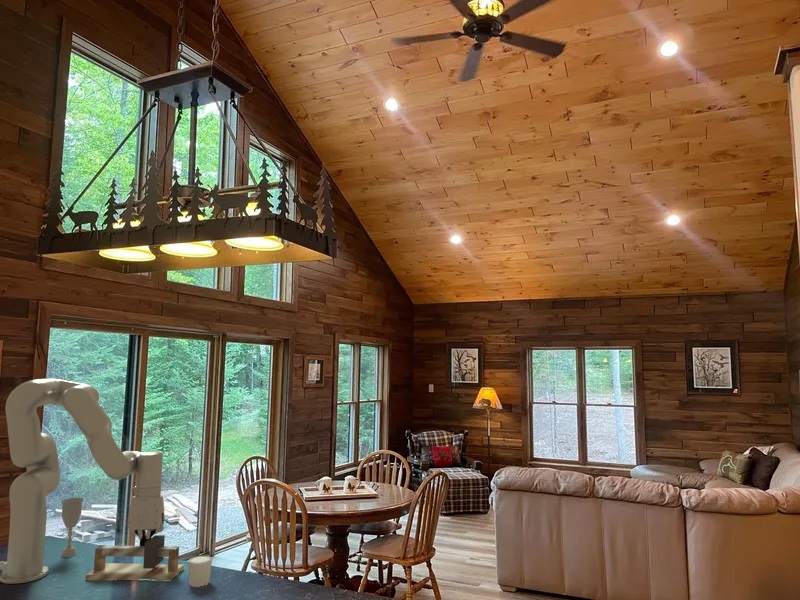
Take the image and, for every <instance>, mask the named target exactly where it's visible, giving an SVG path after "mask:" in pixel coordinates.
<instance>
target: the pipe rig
mask: <svg viewBox="0 0 800 600" xmlns="http://www.w3.org/2000/svg"><path fill="white" fill-rule="evenodd" d="M144 547H145V546H140V545H106V544H103V545H102V544H100V545H97V546H96V547H95V549H94V558H93V559H94V560H93V562H94V563H93V570H91V571H90V572H88V573H87V574H85V581H113V580H114V582H115V581H117V580H138V579H151V580H152V579H155V580H172V579H173V578H174V577H175V576H176V575H177V574H178V573H179V572H180V571H181V572H183V570H184V569H185V568H184V567H185V565H184V564H183V563H182V564H179V557H180V552H179V551H180V546H177V545H176V546H175V545H172V546H165V545H164V546H159V547H157V557H164V558H167V559H168V560H167V561H168V562H167V564H166V563H159V564H158V565H157V566H156V567H155V568H153V569H143V565H144V563H120V562H119V563H117V562H116V563H114V562H113V563H110V562H109V563H108V562H106V559H107V557H131V558H132V557H133V558H134V557H136V558H137V557H139V558H140V557H142V558H144ZM181 572H180V573H181ZM180 573H179V574H180ZM179 574H178V575H179ZM178 575H177V576H178ZM177 576H176V577H177ZM176 577H175V578H176ZM175 578H174V579H175ZM174 579H173V580H174ZM173 580H172V581H173Z"/></svg>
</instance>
